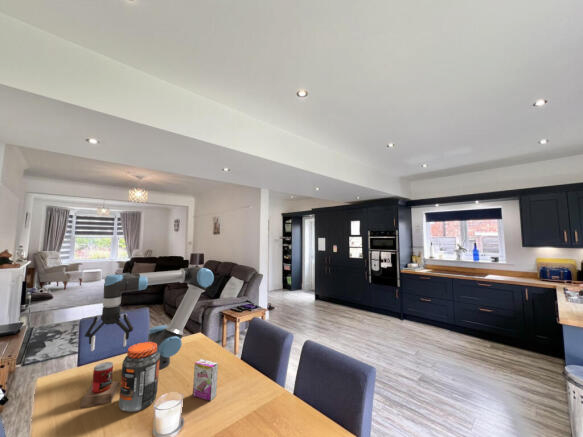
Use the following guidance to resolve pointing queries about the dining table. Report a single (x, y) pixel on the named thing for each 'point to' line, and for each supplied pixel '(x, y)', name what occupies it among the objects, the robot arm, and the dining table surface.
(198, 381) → the candy bar box
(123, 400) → the supplement tub
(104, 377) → the canned food
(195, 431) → the dining table surface
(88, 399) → the plinth
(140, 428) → the dining table surface
